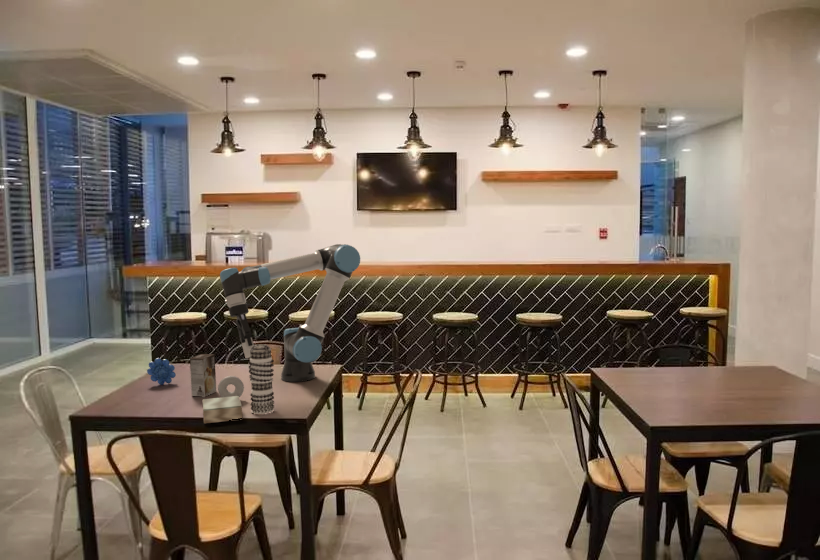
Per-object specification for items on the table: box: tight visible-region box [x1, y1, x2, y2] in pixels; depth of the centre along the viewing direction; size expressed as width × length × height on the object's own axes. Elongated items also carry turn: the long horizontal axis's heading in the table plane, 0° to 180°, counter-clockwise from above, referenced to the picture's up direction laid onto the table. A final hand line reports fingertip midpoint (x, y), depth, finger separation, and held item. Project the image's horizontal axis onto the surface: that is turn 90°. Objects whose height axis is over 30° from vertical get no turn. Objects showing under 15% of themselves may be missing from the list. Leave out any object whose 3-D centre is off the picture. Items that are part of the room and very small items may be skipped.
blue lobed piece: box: [146, 357, 176, 386], centre depth 273 cm, size 12×7×12 cm, turn 115°
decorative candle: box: [247, 343, 275, 415], centre depth 232 cm, size 9×9×25 cm
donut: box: [217, 375, 245, 398], centre depth 248 cm, size 10×4×10 cm, turn 101°
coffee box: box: [189, 353, 217, 398], centre depth 257 cm, size 9×6×16 cm
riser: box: [202, 396, 243, 424], centre depth 228 cm, size 13×14×5 cm
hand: (250, 356), depth 252 cm, fingers open, 13 cm apart
